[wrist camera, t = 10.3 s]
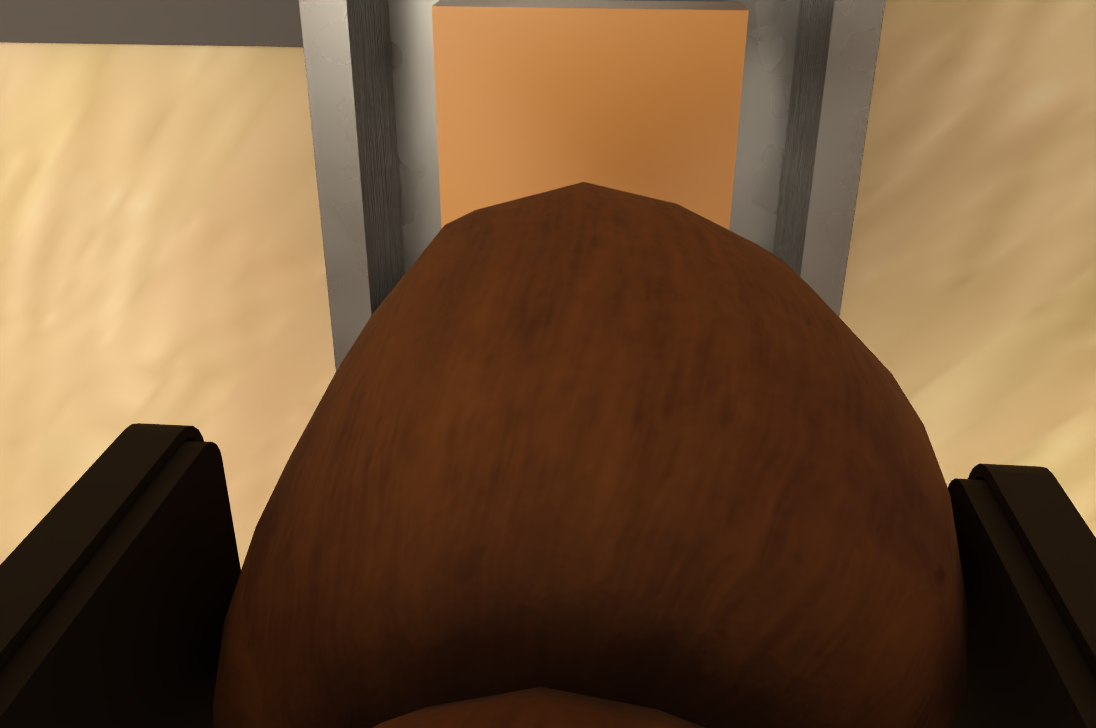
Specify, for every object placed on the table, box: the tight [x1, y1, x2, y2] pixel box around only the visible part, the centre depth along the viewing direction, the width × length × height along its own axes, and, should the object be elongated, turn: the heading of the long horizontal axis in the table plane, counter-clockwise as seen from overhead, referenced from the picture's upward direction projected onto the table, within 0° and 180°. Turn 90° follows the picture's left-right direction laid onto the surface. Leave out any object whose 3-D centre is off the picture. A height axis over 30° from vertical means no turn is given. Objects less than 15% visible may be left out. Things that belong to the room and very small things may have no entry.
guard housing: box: [299, 0, 885, 372], centre depth 25 cm, size 12×12×6 cm
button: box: [432, 0, 749, 230], centre depth 24 cm, size 7×7×2 cm
